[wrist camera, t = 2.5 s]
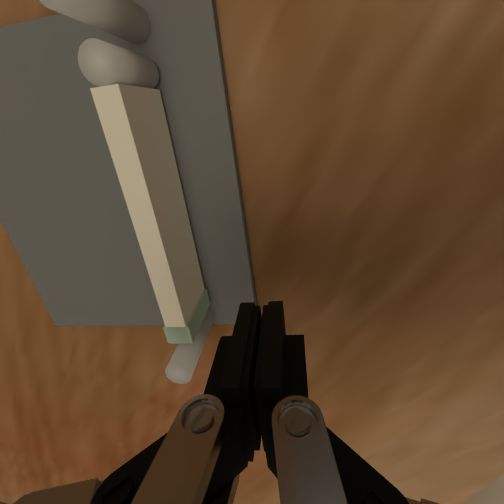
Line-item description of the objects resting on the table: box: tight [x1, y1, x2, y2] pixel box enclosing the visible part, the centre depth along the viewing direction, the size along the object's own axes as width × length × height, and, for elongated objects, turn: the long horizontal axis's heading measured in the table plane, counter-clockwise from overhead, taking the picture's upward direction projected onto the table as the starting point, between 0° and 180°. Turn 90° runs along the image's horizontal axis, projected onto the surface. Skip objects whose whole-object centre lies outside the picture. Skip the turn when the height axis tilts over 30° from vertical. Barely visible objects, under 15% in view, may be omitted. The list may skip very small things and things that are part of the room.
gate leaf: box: [78, 38, 210, 343], centre depth 20 cm, size 2×19×5 cm, turn 7°
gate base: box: [0, 0, 257, 384], centre depth 21 cm, size 22×25×8 cm
